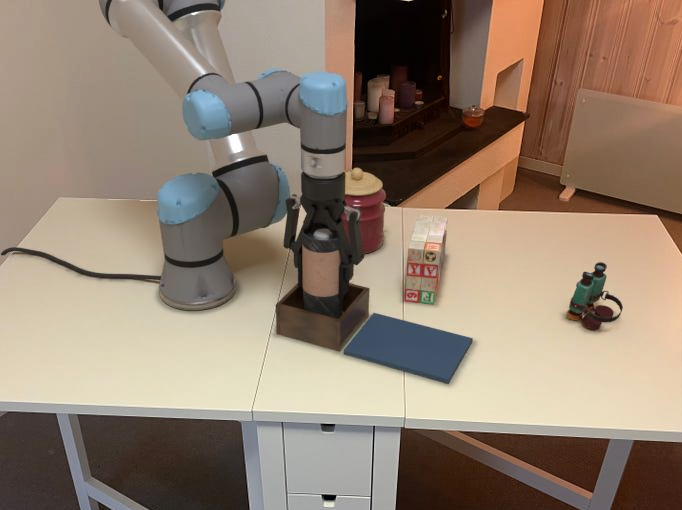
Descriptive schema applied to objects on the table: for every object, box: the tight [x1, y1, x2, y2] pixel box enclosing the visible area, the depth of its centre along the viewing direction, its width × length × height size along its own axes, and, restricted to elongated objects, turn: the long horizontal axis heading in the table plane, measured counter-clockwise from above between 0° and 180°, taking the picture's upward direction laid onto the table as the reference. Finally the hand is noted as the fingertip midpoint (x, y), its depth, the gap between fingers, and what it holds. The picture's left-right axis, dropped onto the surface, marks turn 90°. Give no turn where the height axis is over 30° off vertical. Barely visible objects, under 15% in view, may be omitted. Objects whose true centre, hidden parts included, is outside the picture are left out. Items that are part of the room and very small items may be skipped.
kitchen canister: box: [341, 167, 387, 255], centre depth 167 cm, size 13×13×18 cm
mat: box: [343, 312, 474, 385], centre depth 139 cm, size 20×14×1 cm
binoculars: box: [565, 261, 624, 331], centre depth 144 cm, size 9×11×10 cm
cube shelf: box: [275, 282, 371, 352], centre depth 143 cm, size 13×13×6 cm
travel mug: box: [302, 223, 344, 319], centre depth 139 cm, size 8×8×20 cm
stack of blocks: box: [403, 214, 449, 305], centre depth 156 cm, size 21×6×12 cm, turn 168°
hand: (323, 288), depth 140 cm, fingers closed on travel mug, 8 cm apart
